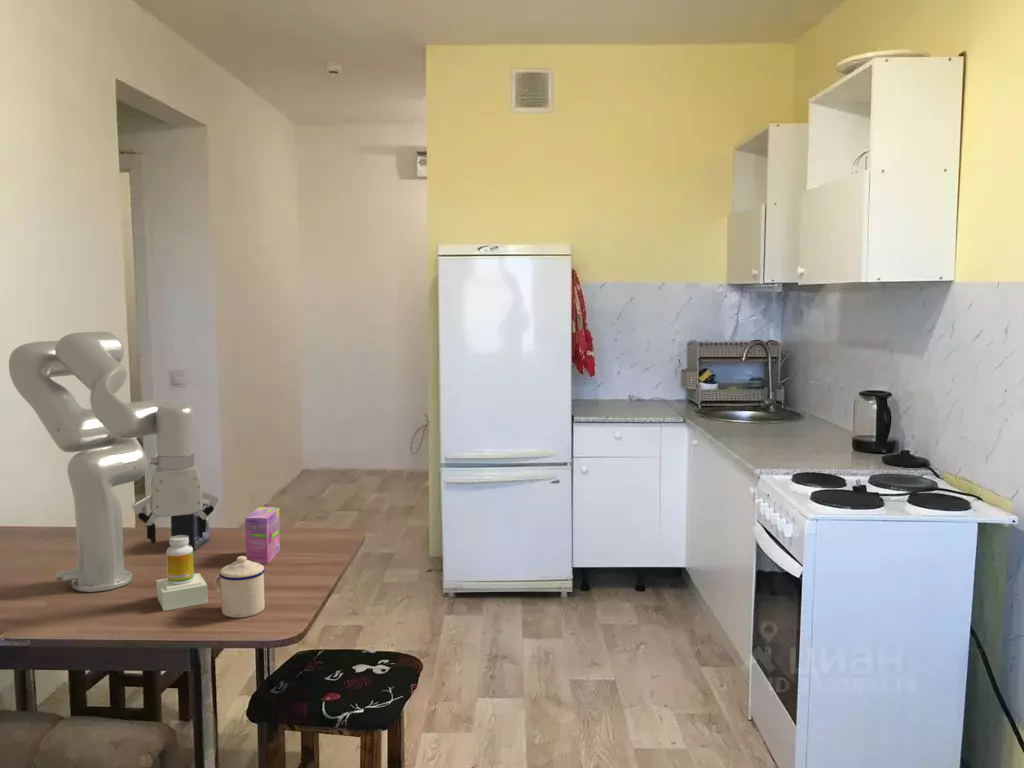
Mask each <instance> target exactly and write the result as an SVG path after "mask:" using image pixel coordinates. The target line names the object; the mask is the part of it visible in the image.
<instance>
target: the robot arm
mask: <svg viewBox="0 0 1024 768" xmlns="http://www.w3.org/2000/svg"><path fill="white" fill-rule="evenodd" d="M124 356H125V349H124V346H123V343H122V341H121V339H119V337H118V336H116V334H114V333H113V332H108V331H88V332H73V333H70V334H66V335H64V336H63V337H61V338H60V339H59V340H48V341H47V340H44V341H34V342H33V341H32V342H29V343H25V344H21V345H19V346H17V347H16V348H14V349H13V350H12V351H11V353H10V355H9V359H8V371H9V376H10V379H11V382H12V384H13V386H14V387H15V389H16V391H17V393H18V394H20V396H21V397H22V398H23V399H24V400H25V402H27V404H29V406H30V407H31V408H32V409H33V411H35V413H36V415H37V417H38V418H39V420H40V422H41V423H42V425H43V426H44V428H45V429H46V431H47V433H48V434H49V436H50V437H51V439H52V440H53V441H54V443H55V444H56V446H57V447H58V448H59V450H61V451H63V452H65V453H76V454H75V455H73V456H72V457H71V459H70V460H69V462H68V463H67V464H68V465H67V476H68V480H69V484H70V488H71V491H72V496H73V502H74V516H75V517H74V518H75V531H76V546H77V547H76V548H77V563H76V564H75V567H72V568H71V570H60V571H56V572H55V580H56V581H61V580H62V582H64V583H65V582H69V581H71V588H72V589H73V590H75V591H77V592H86V593H87V592H88V593H89V592H90V593H91V592H92V593H93V592H94V593H95V592H102V591H110V590H115V589H117V588H120V587H123V586H126V585H127V584H129V583H130V582H131V581H132V580H133V573H132V572H131V571H129V570H126V569H125V554H124V553H125V550H124V534H123V532H124V531H123V530H124V529H123V517H122V516H123V514H122V512H123V511H122V504H121V502H120V500H119V498H118V497H117V496H116V494H115V493H114V491H113V490H112V488H114V487H116V486H121V485H124V484H129V483H132V482H135V481H138V480H140V479H142V478H143V477H144V476H145V475H146V474H147V471H148V466H149V465H154V466H156V467H154V469H153V470H152V475H151V482H150V483H151V485H150V495H148V496H146V497H144V498H143V499H141V500H139V501H137V502H136V503H133V504H132V506H131V507H132V509H133V510H134V512H135V514H136V516H137V517H138V519H140V521H142V522H143V523H145V525H146V537H147V538H146V539H147V540H150V543H151V544H152V545H153V544H155V543H157V541H156V540H157V539H156V538H157V536H156V535H157V533H156V524H155V522H156V521H157V519H158V518H165V517H171V516H178V515H187V514H195V513H197V514H198V518H197V535H198V536H199V537H200V538H203V533H204V532H205V531H206V529H205V519H207V517H208V515H211V513H213V511H214V510H215V507H216V505H217V503H218V501H219V498H218V497H217V496H215V495H213V494H211V493H209V492H208V493H207V492H206V491H203V487H202V477H201V473H200V468H199V466H197V465H195V411H194V409H193V407H192V406H191V405H190V404H186V403H185V404H184V403H175V402H172V401H170V400H167V399H163V398H162V399H161V398H159V399H157V398H156V399H151V400H150V399H149V400H148V399H147V400H141V401H134V402H133V401H132V402H127V403H125V402H123V401H121V400H120V399H119V398H118V397H117V396H116V395H115V394H116V393H118V392H119V390H121V389H122V387H123V386H124V384H125V383H126V380H127V378H128V377H127V376H128V375H127V370H126V368H125V367H124V365H122V364H121V362H122V361H123V358H124ZM67 376H74V377H76V379H77V380H79V381H80V382H81V383H82V384H83V385H84V386H85V387H86V388H87V389H88V390H90V395H89V396H90V397H89V399H90V407H91V408H83V407H82V406H80V404H79V403H78V401H77V400H76V398H75V397H74V395H73V393H72V392H70V391H69V390H68V389H67V388H66V387H64V386H63V385H62V384H60V383H58V382H56V381H55V380H53V379H52V378H56V377H67ZM154 435H156V455H155V457H151V458H148V457H147V455H146V452H145V450H144V448H143V447H142V445H141V444H140V442H139V440H138V438H140V437H146V436H154ZM77 452H78V453H77ZM148 459H149V460H148ZM148 461H149V462H148ZM203 499H204V500H206V501H209V502H208V503H207V504H208V506H207V507H206V508H205V509H204V510H202V506H203V503H204V502H203ZM149 504H150V505H149ZM148 505H149V506H150V510H151V511H150V512H149V513H148V514H146V513H145V512H143V510H142V509H143V508H144V507H146V506H148Z"/></svg>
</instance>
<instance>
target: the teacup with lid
mask: <svg viewBox="0 0 1024 768" xmlns="http://www.w3.org/2000/svg"><path fill="white" fill-rule="evenodd" d="M265 571H266V570H265V567H264V564H259V563H256V562H252V561H249V560H247V558H246V555H240V556H237V558H236V561H234V562H232V563H231V564H228V565H225V566H223V567H222V568H221V569H220V571H219V574H217V575H216V576H215V578H214V587H215V589H216V591H217V593H218V594H219V595H220V596H221V613H222V615H224V616H225V617H229V618H238V619H239V618H247V617H252V616H255V615H259V614H260V613H262V612H263V611H264V609H265V605H266V604H265V603H266V602H265Z"/></svg>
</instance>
